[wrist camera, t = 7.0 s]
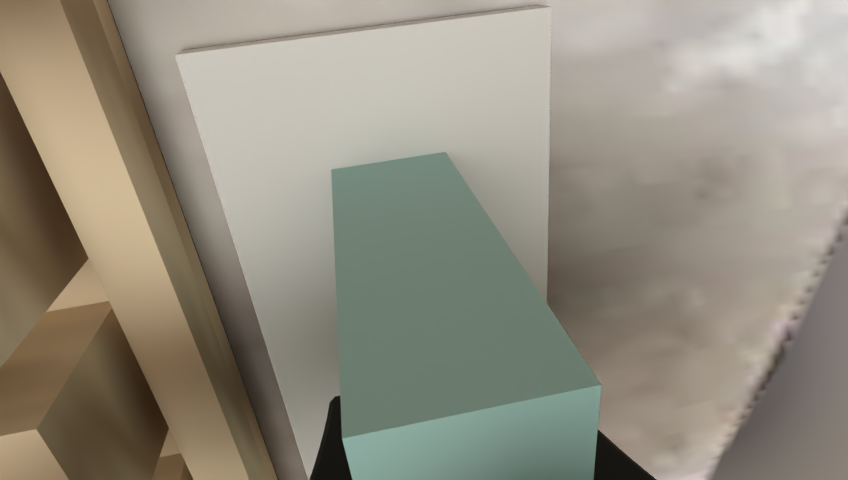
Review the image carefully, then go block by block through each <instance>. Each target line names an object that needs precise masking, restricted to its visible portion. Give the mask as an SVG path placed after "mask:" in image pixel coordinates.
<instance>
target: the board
mask: <svg viewBox="0 0 848 480" xmlns="http://www.w3.org/2000/svg"><path fill="white" fill-rule="evenodd" d="M331 176H332V201H333V226H334V251H335V276H336V301H337V326H338V351H339V376H340V401H341V426H342V441H343V445H344V449H345V453H346V457H347V460H348V464H349V468H350V472H351V476H352V480H593V479H594V467H595V455H596V443H597V431H598V419H599V407H600V395H601V384H600V382H599V381H598V379H597V378H596V376H595V375H594V373H593V372H592V370H591V369H590V367H589V366H588V364H587V363H586V361H585V360H584V358H583V357H582V355H581V354H580V352H579V351H578V349H577V348H576V346H575V345H574V343H573V342H572V340H571V339H570V337H569V336H568V334H567V333H566V331H565V330H564V328H563V327H562V325H561V324H560V322H559V321H558V319H557V318H556V316H555V315H554V313H553V312H552V310H551V309H550V307H549V306H548V304H547V303H546V301H545V300H544V298H543V297H542V295H541V294H540V292H539V291H538V289H537V288H536V286H535V285H534V283H533V282H532V280H531V279H530V277H529V276H528V274H527V273H526V271H525V270H524V269H523V267H522V266H521V264H520V263H519V261H518V260H517V258H516V257H515V255H514V254H513V252H512V251H511V249H510V248H509V246H508V245H507V243H506V242H505V240H504V239H503V237H502V236H501V234H500V233H499V231H498V230H497V228H496V227H495V225H494V224H493V222H492V221H491V219H490V218H489V216H488V215H487V213H486V212H485V210H484V209H483V207H482V206H481V204H480V203H479V201H478V200H477V198H476V197H475V195H474V194H473V192H472V191H471V189H470V188H469V186H468V185H467V183H466V182H465V180H464V179H463V177H462V176H461V174H460V173H459V171H458V170H457V168H456V167H455V165H454V164H453V162H452V161H451V159H450V158H449V156H448V155H447V153H446V152H441V153H435V154H428V155H422V156H415V157H409V158H402V159H396V160H389V161H383V162H377V163H370V164H364V165H357V166H351V167H344V168H338V169H331Z"/></svg>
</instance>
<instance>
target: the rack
mask: <svg viewBox="0 0 848 480" xmlns="http://www.w3.org/2000/svg"><path fill="white" fill-rule="evenodd" d="M0 72H1V74H2V76H3V78H4V80H5V82H6V85H7V87H8V89H9V91H10V93H11V95H12V97H13V99H14V101H15V104H16V106H17V108H18V110H19V112H20V114H21V116H22V118H23V120H24V123H25V125H26V127H27V129H28V131H29V133H30V135H31V137H32V139H33V142H34V144H35V146H36V148H37V150H38V152H39V154H40V156H41V158H42V161H43V163H44V165H45V167H46V169H47V171H48V173H49V175H50V177H51V180H52V182H53V184H54V186H55V188H56V190H57V192H58V194H59V196H60V199H61V201H62V203H63V205H64V207H65V209H66V211H67V213H68V215H69V218H70V220H71V222H72V224H73V226H74V228H75V230H76V232H77V235H78V237H79V239H80V241H81V243H82V245H83V247H84V249H85V251H86V254H87V256H88V258H89V259H88V260H87V261H86V263H85V264H84V265H83V266H82V268H81V269H80V270H79V271H78V272H77V274H76V275H75V276H74V277H73V279H72V280H71V281H70V282H69V284H68V285H67V286H66V287H65V289H64V290H63V291H62V292H61V293H60V295H59V296H58V297H57V298H56V300H55V301H54V302H53V303H52V305H51V306H50V307H49V308H48V310H47V311H46V312H49V311H54V310H60V309H66V308H72V307H77V306H83V305H89V304H95V303H101V302H106V301H109V302H110V304H111V306H112V308H113V311H114V313H115V315H116V317H117V319H118V321H119V323H120V325H121V327H122V330H123V332H124V334H125V336H126V338H127V340H128V342H129V344H130V346H131V349H132V351H133V353H134V355H135V357H136V359H137V361H138V363H139V365H140V368H141V370H142V372H143V374H144V376H145V378H146V380H147V382H148V384H149V387H150V389H151V391H152V393H153V395H154V397H155V399H156V401H157V403H158V406H159V408H160V410H161V412H162V414H163V416H164V418H165V420H166V422H167V425H168V427H169V430H168V433H167V436H166V439H165V442H164V445H163V448H162V451H161V454H160V457H165V456H170V455H174V454H179V453H181V454H182V456H183V458H184V460H185V463H186V465H187V467H188V469H189V471H190V473H191V475H192V477H193V479H194V480H278V479H277V476H276V474H275V471H274V468H273V465H272V462H271V460H270V457H269V454H268V451H267V448H266V446H265V443H264V440H263V437H262V434H261V432H260V429H259V426H258V423H257V420H256V417H255V415H254V412H253V409H252V406H251V403H250V401H249V398H248V395H247V392H246V389H245V387H244V384H243V381H242V378H241V375H240V373H239V370H238V367H237V364H236V361H235V359H234V356H233V353H232V350H231V347H230V345H229V342H228V339H227V336H226V333H225V331H224V328H223V325H222V322H221V319H220V316H219V314H218V311H217V308H216V305H215V302H214V300H213V297H212V294H211V291H210V288H209V286H208V283H207V280H206V277H205V274H204V272H203V269H202V266H201V263H200V260H199V258H198V255H197V252H196V249H195V246H194V244H193V241H192V238H191V235H190V232H189V230H188V227H187V224H186V221H185V218H184V216H183V213H182V210H181V207H180V204H179V201H178V199H177V196H176V193H175V190H174V187H173V185H172V182H171V179H170V176H169V173H168V171H167V168H166V165H165V162H164V159H163V157H162V154H161V151H160V148H159V145H158V143H157V140H156V137H155V134H154V131H153V129H152V126H151V123H150V120H149V117H148V115H147V112H146V109H145V106H144V103H143V100H142V98H141V95H140V92H139V89H138V86H137V84H136V81H135V78H134V75H133V72H132V70H131V67H130V64H129V61H128V58H127V56H126V53H125V50H124V47H123V44H122V42H121V39H120V36H119V33H118V30H117V28H116V25H115V22H114V19H113V16H112V14H111V11H110V8H109V5H108V2H107V0H0ZM160 457H159V458H160Z"/></svg>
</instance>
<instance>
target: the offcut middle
mask: <svg viewBox="0 0 848 480" xmlns="http://www.w3.org/2000/svg"><path fill="white" fill-rule="evenodd" d="M168 430H169V427H168V425H167V422H166V420H165V418H164V416H163V414H162V412H161V410H160V408H159V406H158V403H157V401H156V399H155V397H154V395H153V393H152V391H151V389H150V387H149V384H148V382H147V380H146V378H145V376H144V374H143V372H142V370H141V368H140V365H139V363H138V361H137V359H136V357H135V355H134V353H133V351H132V349H131V346H130V344H129V342H128V340H127V338H126V336H125V334H124V332H123V330H122V327H121V325H120V323H119V321H118V319H117V317H116V315H115V313H114V311H113V308H112V306H111V304H110V302H109V301H106V302H101V303H95V304H89V305H83V306H77V307H72V308H66V309H60V310H54V311H49V312H45V313H44V314H43V316H42V317H41V318H40V319H39V321H38V322H37V323H36V324H35V326H34V327H33V328H32V329H31V331H30V332H29V333H28V334H27V335H26V337H25V338H24V339H23V340H22V342H21V343H20V344H19V345H18V347H17V348H16V349H15V350H14V352H13V353H12V354H11V355H10V356H9V358H8V359H7V360H6V361H5V363H4V364H3V365H2V366H1V368H0V480H152V478H153V475H154V472H155V469H156V466H157V463H158V460H159V457H160V454H161V451H162V448H163V445H164V442H165V439H166V436H167V433H168Z"/></svg>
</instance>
